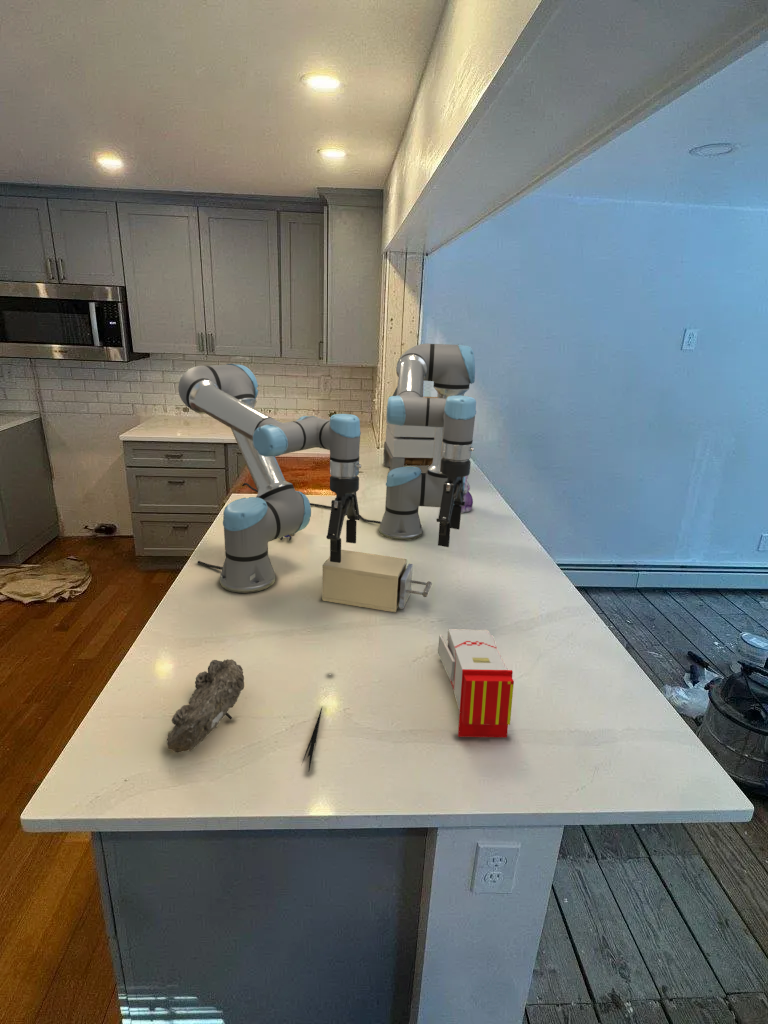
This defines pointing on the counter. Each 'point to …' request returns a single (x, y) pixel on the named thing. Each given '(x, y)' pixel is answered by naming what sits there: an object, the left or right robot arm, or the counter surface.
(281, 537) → the figurine character
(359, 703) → the counter surface
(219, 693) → the fossil
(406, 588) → the drawer
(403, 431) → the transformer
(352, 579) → the cabinet
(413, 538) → the right robot arm
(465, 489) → the figurine
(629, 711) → the counter surface
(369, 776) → the counter surface
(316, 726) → the feather
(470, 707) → the toy
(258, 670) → the counter surface
